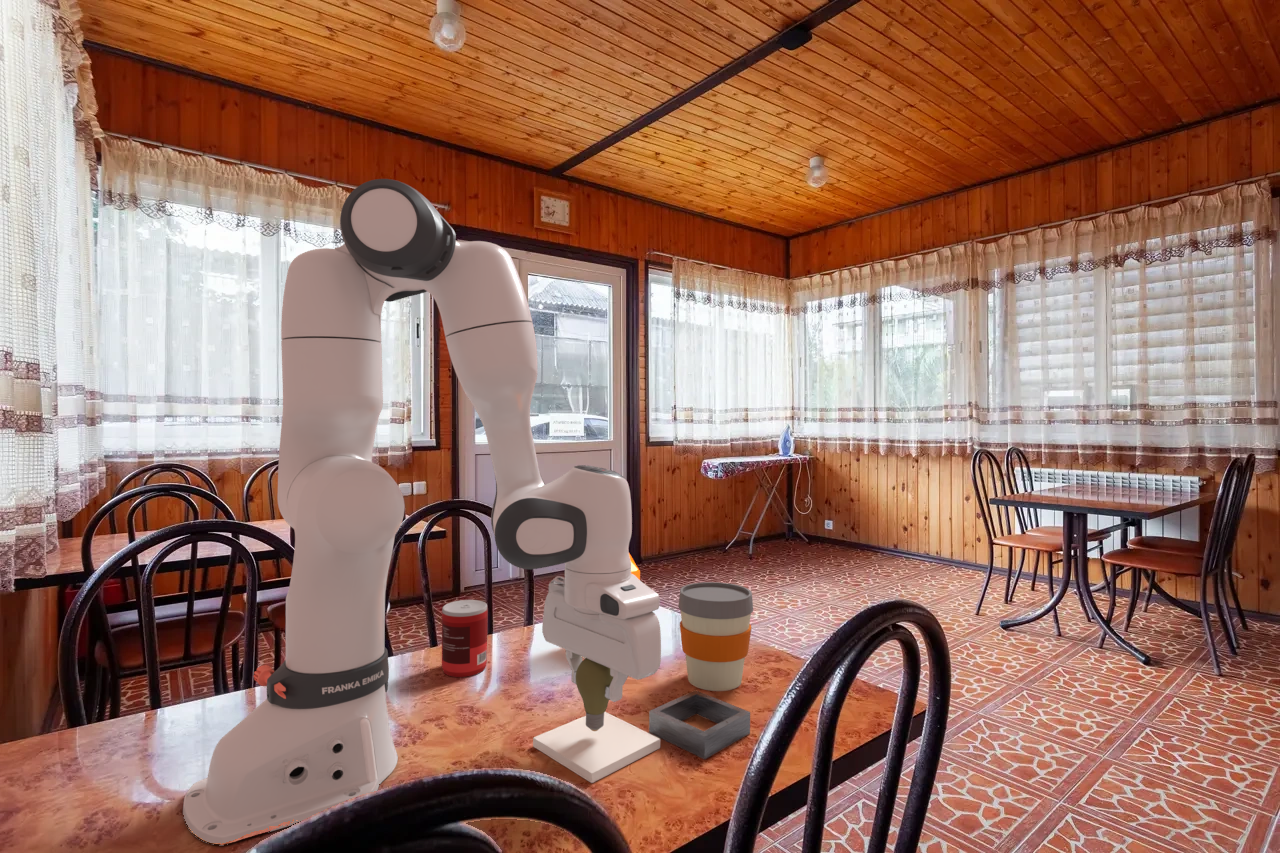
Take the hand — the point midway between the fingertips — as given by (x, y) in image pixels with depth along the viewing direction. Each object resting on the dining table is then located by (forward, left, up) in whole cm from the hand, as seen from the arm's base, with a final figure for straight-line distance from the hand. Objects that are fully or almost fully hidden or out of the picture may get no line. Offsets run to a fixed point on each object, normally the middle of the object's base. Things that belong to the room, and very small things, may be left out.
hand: (596, 691), depth 86 cm
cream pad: (0, 0, -8) cm, 8 cm away
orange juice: (+28, +28, -8) cm, 40 cm away
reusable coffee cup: (+29, +3, -8) cm, 30 cm away
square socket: (+13, -7, -8) cm, 17 cm away
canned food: (+1, +36, -8) cm, 37 cm away
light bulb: (0, 0, -6) cm, 6 cm away
